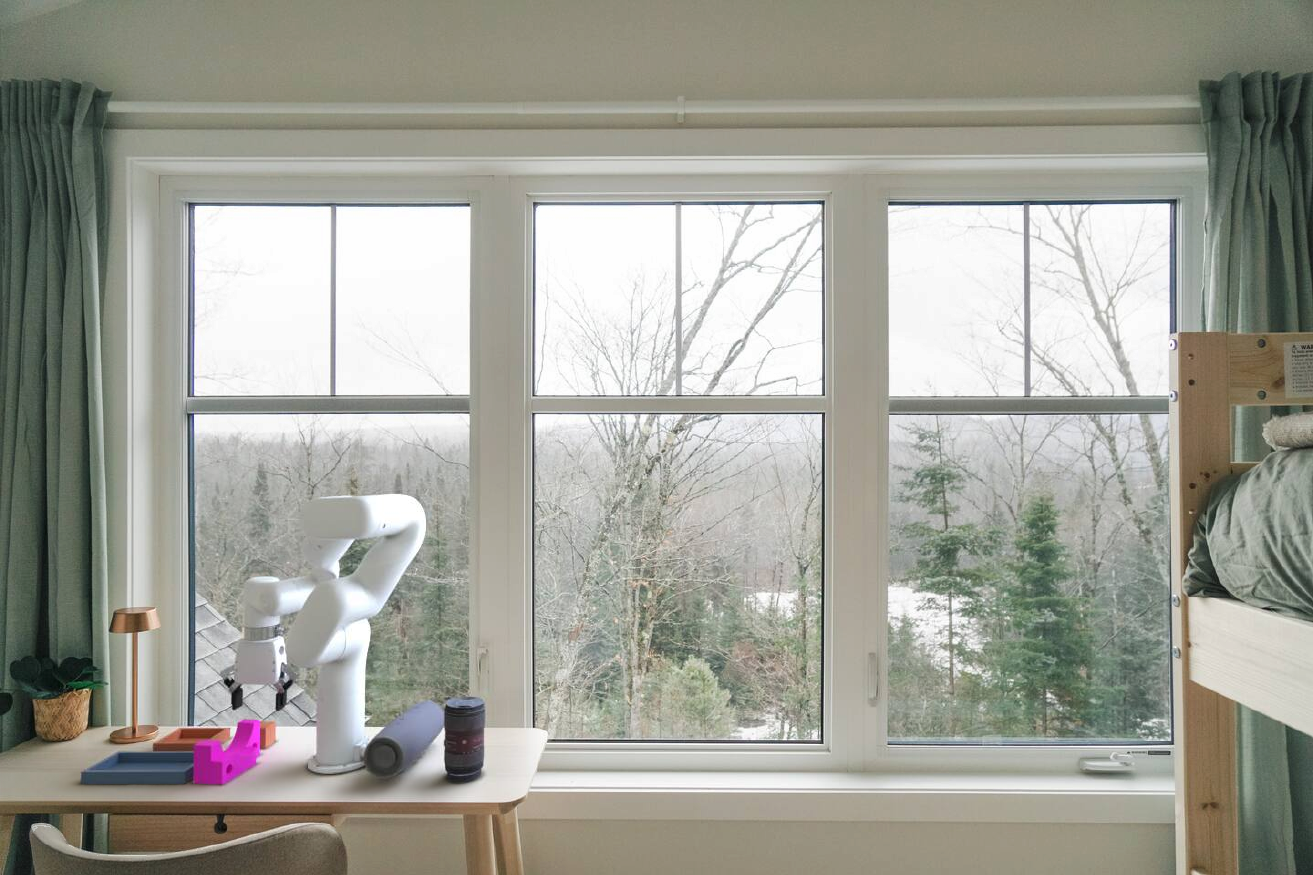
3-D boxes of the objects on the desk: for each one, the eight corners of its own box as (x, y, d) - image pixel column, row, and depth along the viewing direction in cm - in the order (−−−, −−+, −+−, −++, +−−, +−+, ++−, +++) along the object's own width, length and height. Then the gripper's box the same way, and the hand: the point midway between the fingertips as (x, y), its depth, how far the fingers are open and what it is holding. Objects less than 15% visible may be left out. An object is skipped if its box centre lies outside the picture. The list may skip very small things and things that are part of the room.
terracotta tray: (230, 737, 178) (230, 727, 178) (205, 754, 168) (206, 743, 168) (179, 738, 178) (179, 727, 178) (152, 754, 168) (152, 743, 168)
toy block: (222, 784, 152) (222, 746, 153) (193, 782, 153) (193, 744, 154) (270, 755, 167) (270, 720, 168) (243, 753, 168) (244, 719, 168)
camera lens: (484, 782, 153) (485, 706, 154) (442, 786, 152) (442, 709, 152) (485, 766, 161) (485, 694, 162) (445, 769, 160) (445, 696, 160)
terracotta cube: (275, 741, 176) (275, 721, 176) (265, 748, 171) (265, 728, 171) (255, 741, 176) (256, 721, 176) (245, 748, 171) (245, 728, 171)
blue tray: (215, 762, 164) (215, 750, 164) (184, 783, 153) (184, 771, 153) (117, 762, 164) (118, 751, 164) (80, 783, 153) (80, 771, 153)
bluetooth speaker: (407, 741, 175) (408, 697, 175) (447, 742, 174) (447, 698, 175) (360, 784, 153) (360, 733, 153) (405, 786, 152) (405, 734, 152)
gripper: (306, 629, 178) (304, 703, 178) (231, 627, 178) (229, 702, 178) (291, 637, 170) (289, 715, 170) (213, 635, 170) (210, 713, 170)
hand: (258, 708), depth 174 cm, fingers open, 9 cm apart
